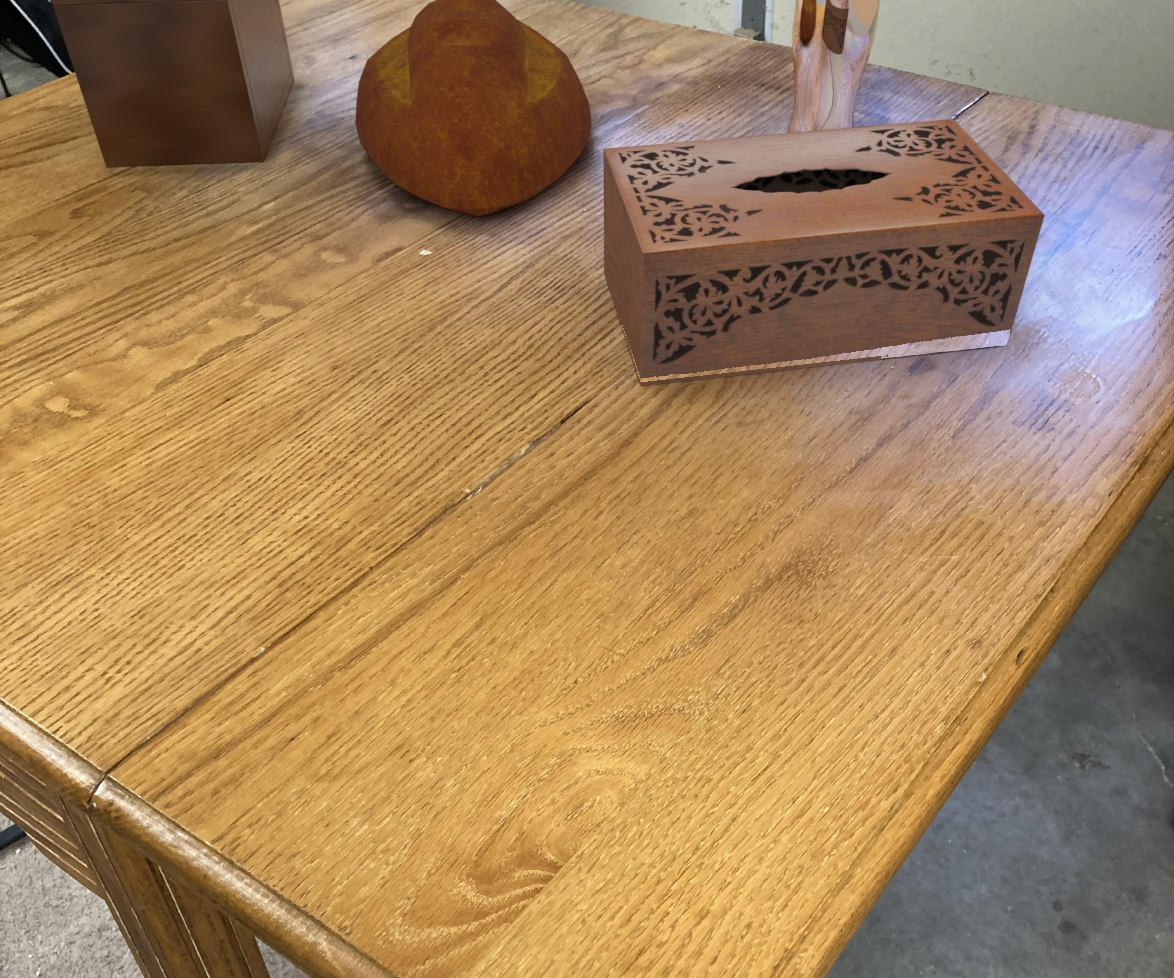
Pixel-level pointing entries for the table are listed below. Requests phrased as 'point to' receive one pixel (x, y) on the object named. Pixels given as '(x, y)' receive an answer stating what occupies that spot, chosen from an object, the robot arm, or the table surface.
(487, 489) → the table surface
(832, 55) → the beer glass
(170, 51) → the bronze square pillar
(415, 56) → the bread
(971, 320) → the tissue box cover
